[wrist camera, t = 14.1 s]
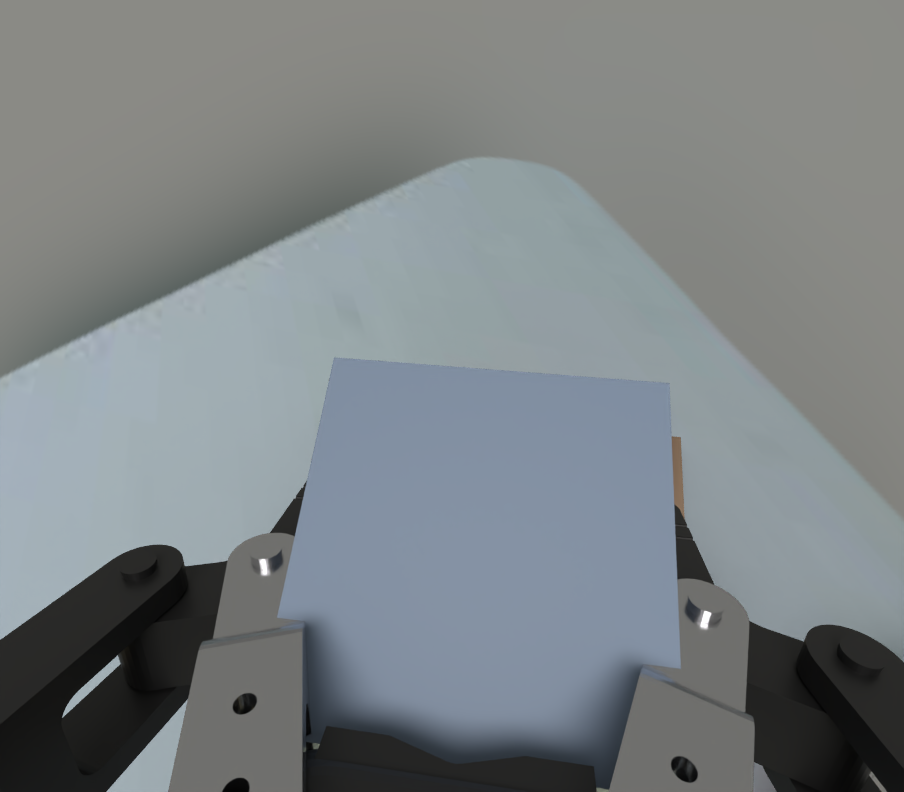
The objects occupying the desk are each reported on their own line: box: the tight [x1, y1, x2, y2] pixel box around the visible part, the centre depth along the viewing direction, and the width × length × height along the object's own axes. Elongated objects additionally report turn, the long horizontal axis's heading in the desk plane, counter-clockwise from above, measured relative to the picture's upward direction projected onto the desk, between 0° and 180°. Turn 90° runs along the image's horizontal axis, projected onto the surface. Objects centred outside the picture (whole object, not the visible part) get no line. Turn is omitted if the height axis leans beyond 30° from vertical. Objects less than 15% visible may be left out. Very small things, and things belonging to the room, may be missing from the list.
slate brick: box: [277, 358, 681, 789], centre depth 12 cm, size 6×6×9 cm
